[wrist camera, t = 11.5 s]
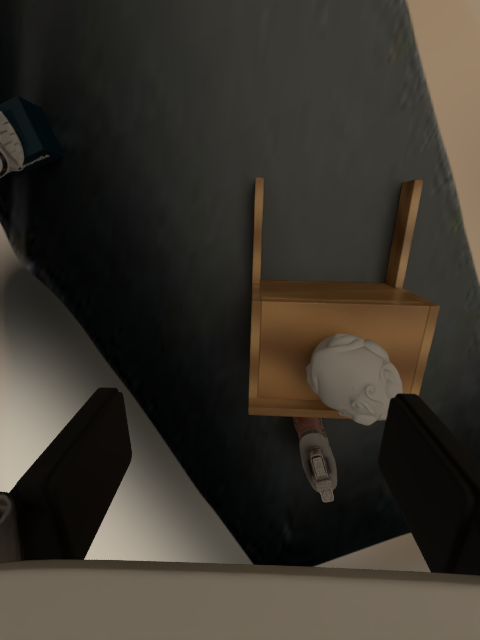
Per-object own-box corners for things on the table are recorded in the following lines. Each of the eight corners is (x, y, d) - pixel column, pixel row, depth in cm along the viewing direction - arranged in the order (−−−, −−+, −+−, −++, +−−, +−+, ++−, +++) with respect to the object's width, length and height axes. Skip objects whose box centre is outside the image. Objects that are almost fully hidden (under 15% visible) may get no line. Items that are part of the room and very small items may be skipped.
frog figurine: (345, 399, 27) (374, 457, 21) (283, 359, 26) (293, 406, 20) (392, 349, 26) (441, 395, 19) (328, 303, 25) (355, 335, 18)
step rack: (255, 180, 30) (256, 162, 20) (410, 182, 30) (489, 165, 20) (249, 361, 37) (248, 414, 27) (377, 365, 36) (423, 422, 26)
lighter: (326, 441, 40) (349, 511, 30) (301, 446, 40) (316, 517, 31) (313, 390, 37) (333, 448, 28) (286, 396, 38) (297, 455, 28)
